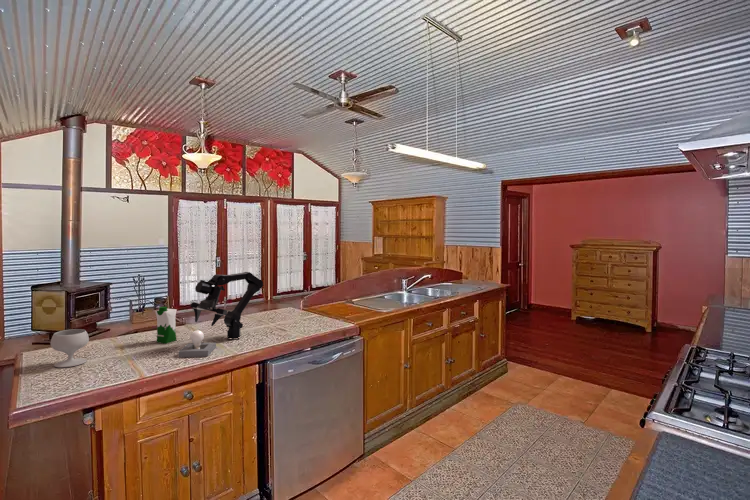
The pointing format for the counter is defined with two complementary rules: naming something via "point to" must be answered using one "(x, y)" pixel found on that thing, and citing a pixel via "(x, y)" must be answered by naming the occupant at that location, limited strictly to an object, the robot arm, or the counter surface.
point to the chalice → (69, 345)
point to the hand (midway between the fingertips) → (203, 324)
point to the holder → (197, 350)
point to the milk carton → (166, 325)
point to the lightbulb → (197, 338)
